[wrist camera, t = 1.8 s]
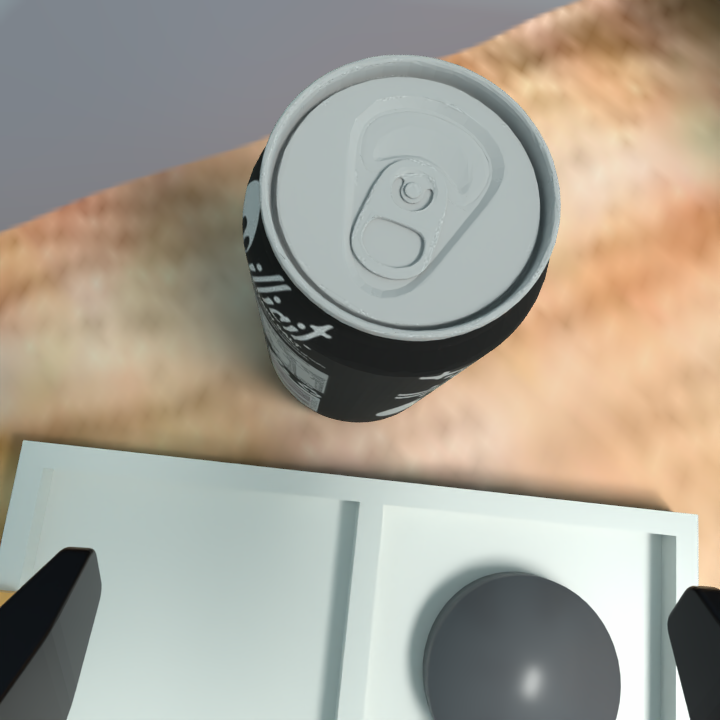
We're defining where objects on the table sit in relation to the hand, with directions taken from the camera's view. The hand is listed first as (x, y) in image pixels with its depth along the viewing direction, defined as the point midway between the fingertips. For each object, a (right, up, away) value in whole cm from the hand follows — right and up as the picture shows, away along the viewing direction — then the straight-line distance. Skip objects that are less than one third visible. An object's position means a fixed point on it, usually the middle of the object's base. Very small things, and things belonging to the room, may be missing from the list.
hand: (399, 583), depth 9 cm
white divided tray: (-1, -7, +12) cm, 13 cm away
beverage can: (-1, +4, +14) cm, 15 cm away
